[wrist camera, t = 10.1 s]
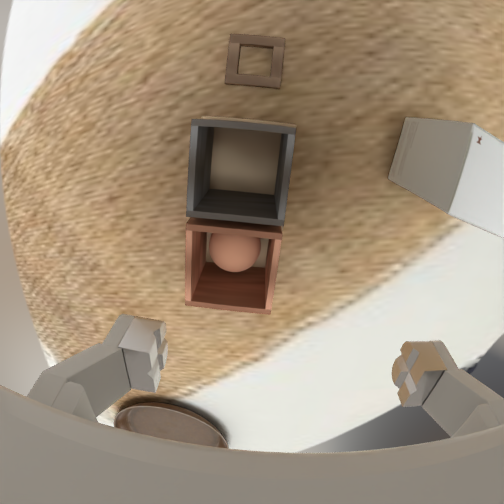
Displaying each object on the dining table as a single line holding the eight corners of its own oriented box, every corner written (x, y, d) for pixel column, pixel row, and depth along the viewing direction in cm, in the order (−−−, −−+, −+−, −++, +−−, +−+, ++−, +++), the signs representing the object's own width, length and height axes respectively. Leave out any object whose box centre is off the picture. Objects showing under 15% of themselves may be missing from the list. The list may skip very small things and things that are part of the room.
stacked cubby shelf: (203, 115, 29) (181, 114, 21) (295, 124, 29) (307, 125, 21) (195, 263, 36) (176, 306, 27) (275, 271, 36) (279, 318, 27)
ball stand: (231, 36, 26) (230, 33, 25) (284, 40, 26) (285, 38, 25) (225, 84, 28) (224, 82, 27) (279, 88, 28) (280, 87, 27)
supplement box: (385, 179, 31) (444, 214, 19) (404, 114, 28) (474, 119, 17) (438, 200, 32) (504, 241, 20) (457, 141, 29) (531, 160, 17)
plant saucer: (106, 424, 51) (101, 437, 48) (141, 374, 44) (135, 389, 41) (196, 466, 55) (194, 478, 52) (253, 427, 48) (253, 443, 45)
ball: (215, 211, 32) (204, 226, 28) (264, 216, 32) (262, 233, 27) (212, 256, 34) (202, 277, 30) (259, 262, 34) (256, 284, 29)
